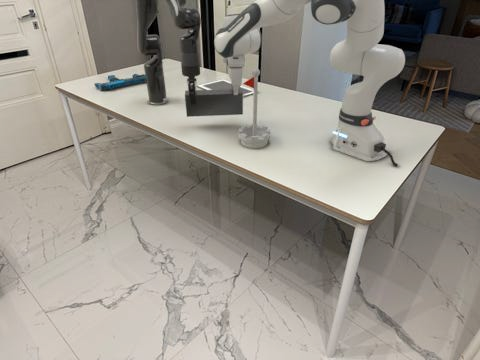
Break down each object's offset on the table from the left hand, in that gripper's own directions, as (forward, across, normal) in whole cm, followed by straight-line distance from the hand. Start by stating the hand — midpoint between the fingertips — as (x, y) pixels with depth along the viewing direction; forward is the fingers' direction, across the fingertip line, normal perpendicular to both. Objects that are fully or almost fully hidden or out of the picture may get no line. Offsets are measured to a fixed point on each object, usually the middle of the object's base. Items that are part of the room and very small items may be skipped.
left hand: (193, 102), depth 147 cm
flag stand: (+12, +18, +24) cm, 32 cm away
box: (+5, 0, +9) cm, 10 cm away
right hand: (-5, 0, +18) cm, 19 cm away
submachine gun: (+12, -72, -44) cm, 85 cm away
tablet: (+12, -51, +18) cm, 56 cm away
